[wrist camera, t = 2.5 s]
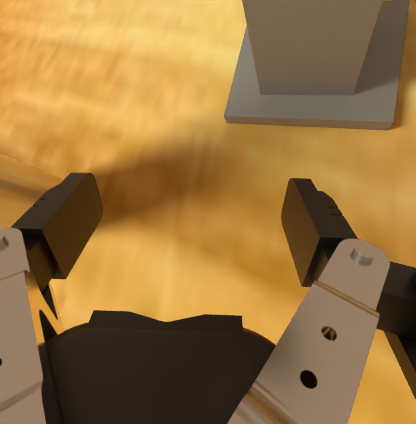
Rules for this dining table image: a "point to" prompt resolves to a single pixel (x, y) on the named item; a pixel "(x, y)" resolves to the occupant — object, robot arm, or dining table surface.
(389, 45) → the stand
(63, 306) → the dining table surface
